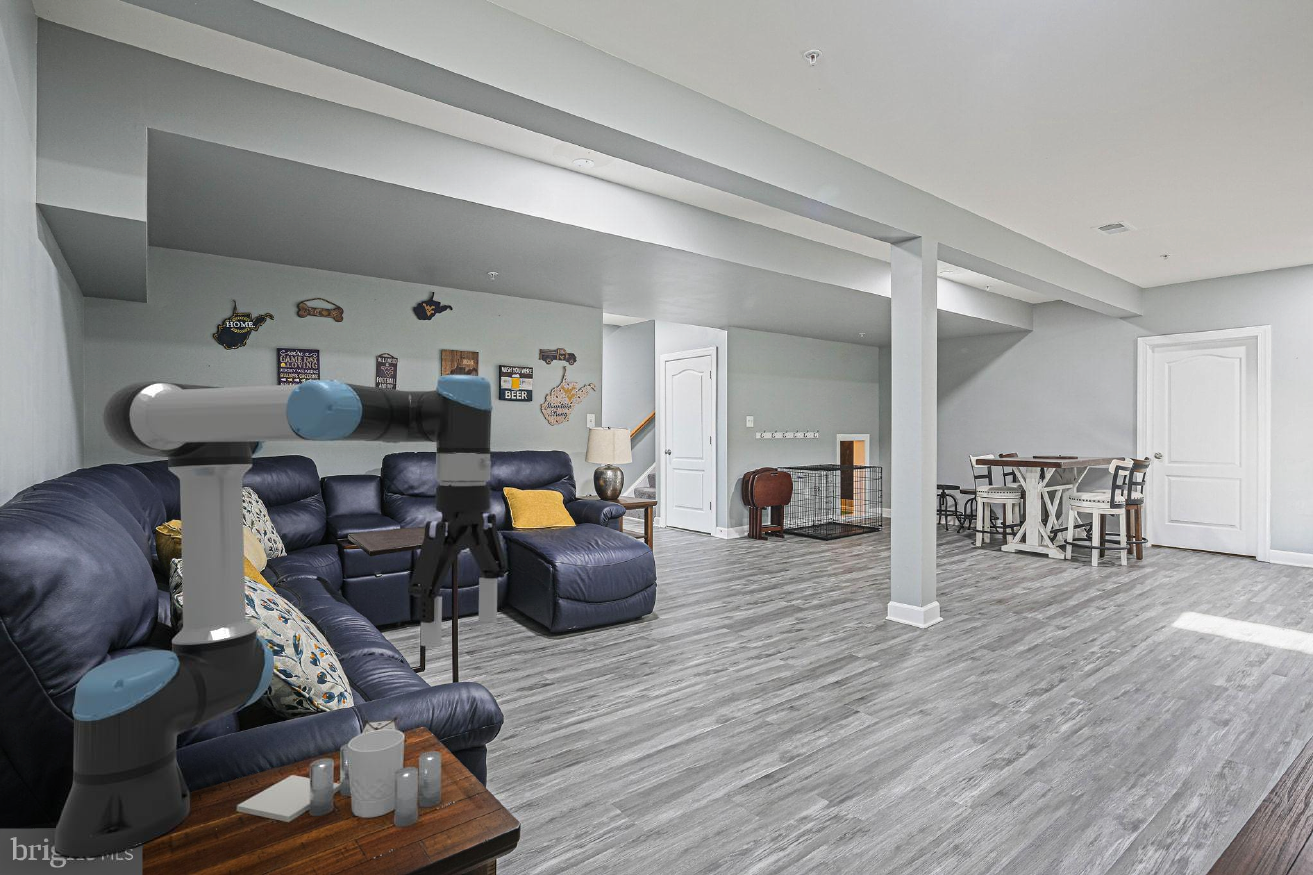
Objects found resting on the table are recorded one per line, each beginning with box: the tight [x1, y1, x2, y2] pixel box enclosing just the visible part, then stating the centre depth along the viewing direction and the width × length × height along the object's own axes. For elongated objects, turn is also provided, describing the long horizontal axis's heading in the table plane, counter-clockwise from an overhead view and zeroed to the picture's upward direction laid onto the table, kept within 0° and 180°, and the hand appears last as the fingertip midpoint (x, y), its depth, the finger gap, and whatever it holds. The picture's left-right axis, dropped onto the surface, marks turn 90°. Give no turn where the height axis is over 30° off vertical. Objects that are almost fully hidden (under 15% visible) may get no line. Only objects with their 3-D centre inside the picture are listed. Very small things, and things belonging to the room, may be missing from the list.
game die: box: [360, 715, 408, 744], centre depth 114 cm, size 9×8×10 cm
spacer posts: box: [308, 743, 442, 828], centre depth 101 cm, size 17×10×7 cm, turn 72°
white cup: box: [347, 729, 405, 819], centre depth 101 cm, size 8×8×10 cm
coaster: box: [236, 774, 340, 823], centre depth 103 cm, size 10×10×1 cm
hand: (461, 633), depth 95 cm, fingers open, 13 cm apart
